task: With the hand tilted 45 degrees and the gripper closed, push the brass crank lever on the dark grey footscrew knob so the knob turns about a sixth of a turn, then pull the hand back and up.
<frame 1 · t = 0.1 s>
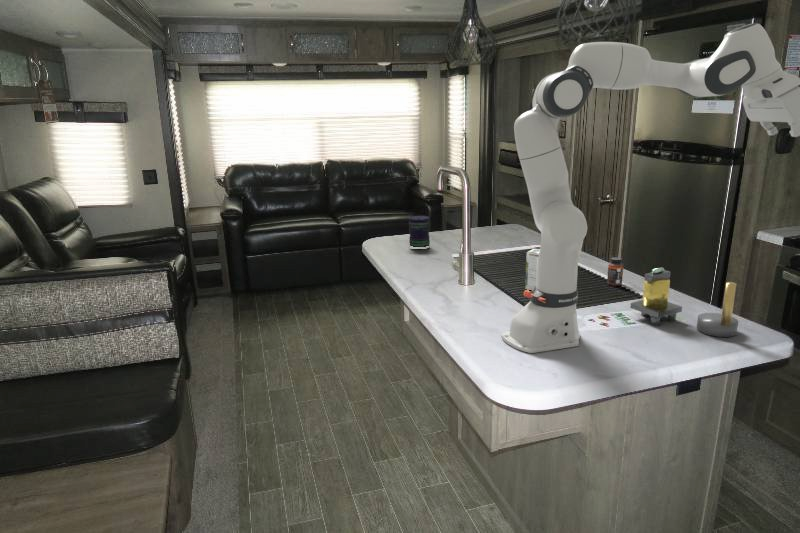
hand: (785, 135, 138), 54 cm above the worktop, tool tilted 30°, fingers open, 8 cm apart
storage jar: (419, 248, 262), on the worktop
footscrew knob: (719, 304, 153), point 8 cm above the worktop, hinge at 0.0°
syrup box: (535, 290, 196), on the worktop
supplement bottle: (614, 284, 199), on the worktop
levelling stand: (654, 319, 165), on the worktop
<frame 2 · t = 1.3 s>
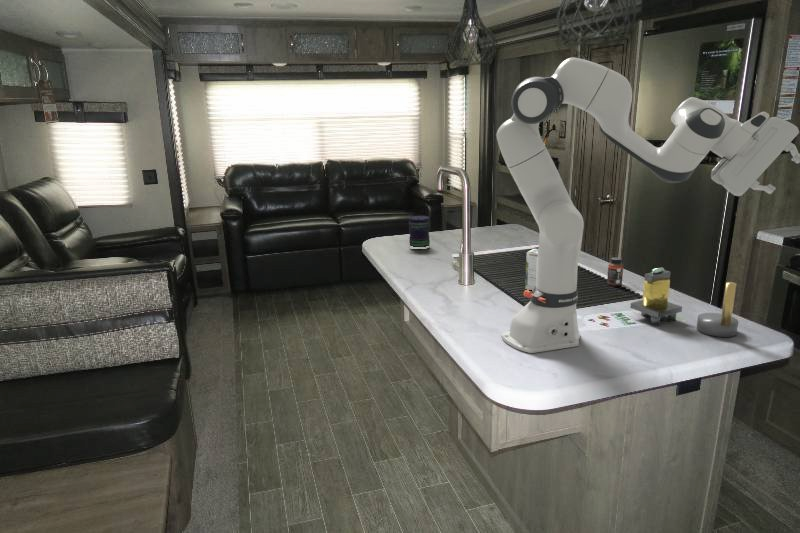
hand: (787, 176, 130), 45 cm above the worktop, tool tilted 55°, fingers open, 8 cm apart
nothing on the worktop moved.
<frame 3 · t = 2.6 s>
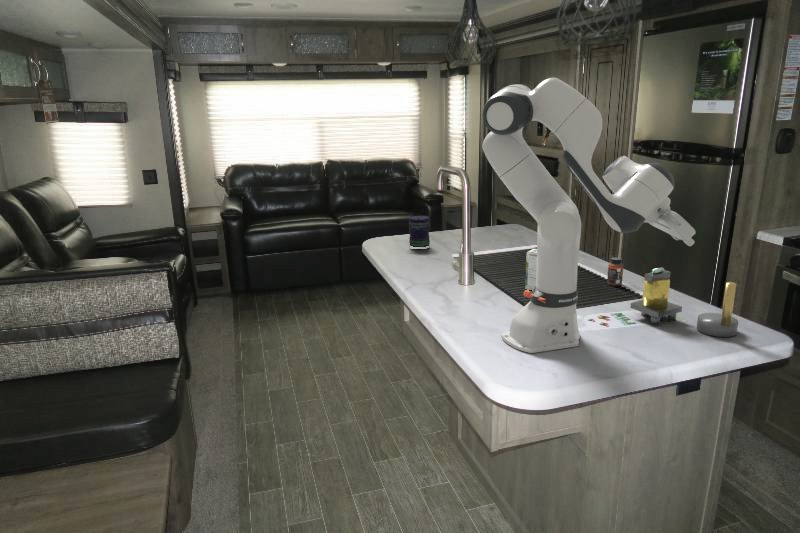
hand: (685, 241, 146), 27 cm above the worktop, tool tilted 45°, fingers open, 5 cm apart
nothing on the worktop moved.
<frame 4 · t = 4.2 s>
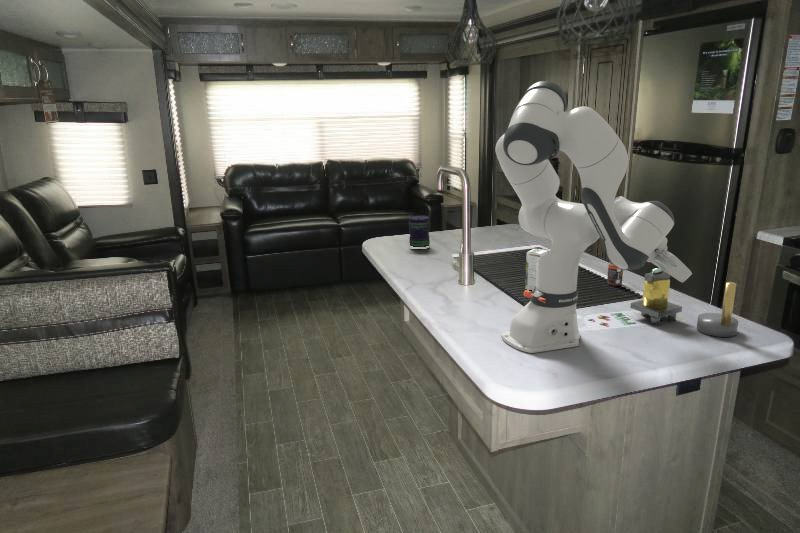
hand: (682, 279, 147), 17 cm above the worktop, tool tilted 45°, fingers closed
nothing on the worktop moved.
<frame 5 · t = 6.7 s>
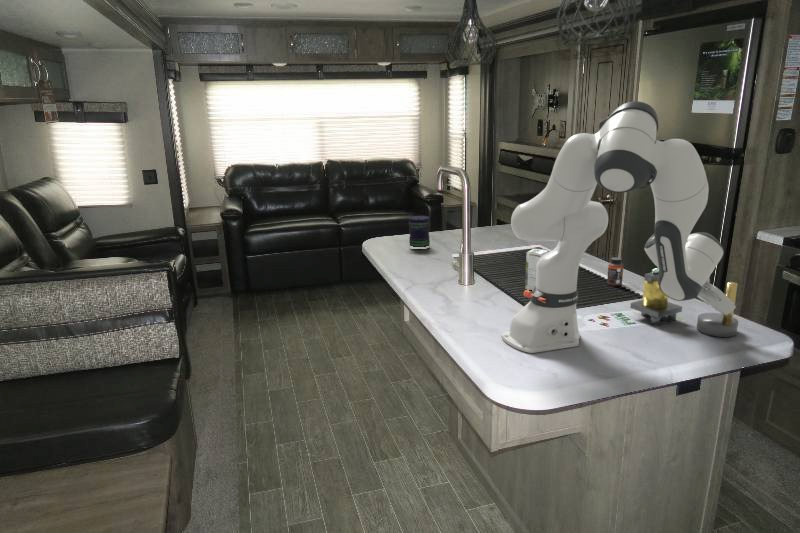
hand: (722, 310, 149), 8 cm above the worktop, tool tilted 45°, fingers closed, pressing on footscrew knob
footscrew knob: (719, 304, 153), point 8 cm above the worktop, hinge at 4.5°, touching gripper
everything else where it was.
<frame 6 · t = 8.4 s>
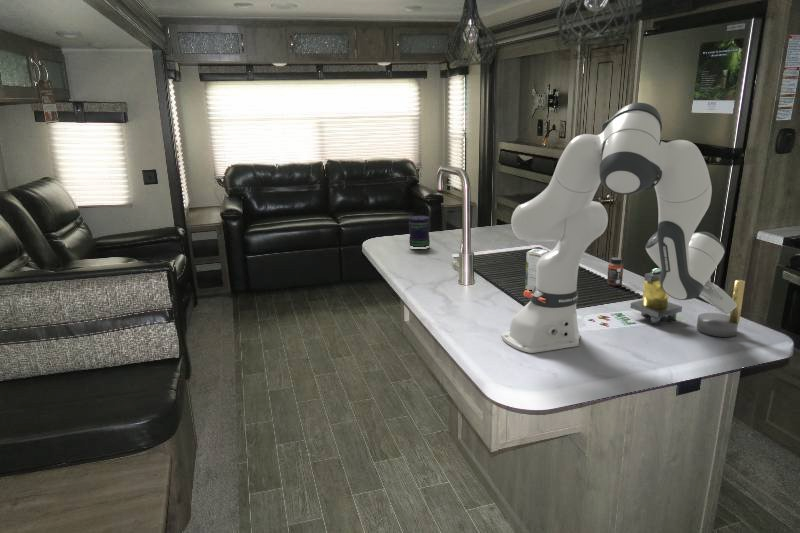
hand: (723, 308, 150), 8 cm above the worktop, tool tilted 45°, fingers closed
footscrew knob: (719, 304, 153), point 8 cm above the worktop, hinge at 54.7°
everything else where it was.
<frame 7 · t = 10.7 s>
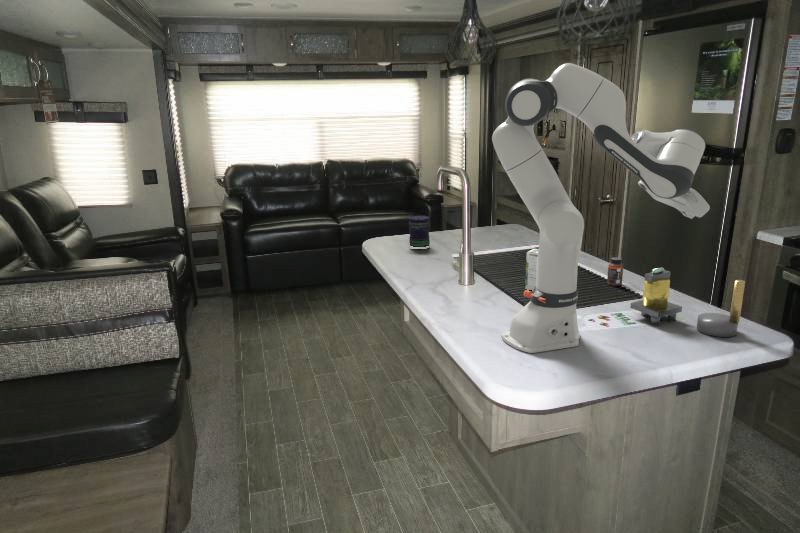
hand: (690, 215, 149), 33 cm above the worktop, tool tilted 45°, fingers closed
nothing on the worktop moved.
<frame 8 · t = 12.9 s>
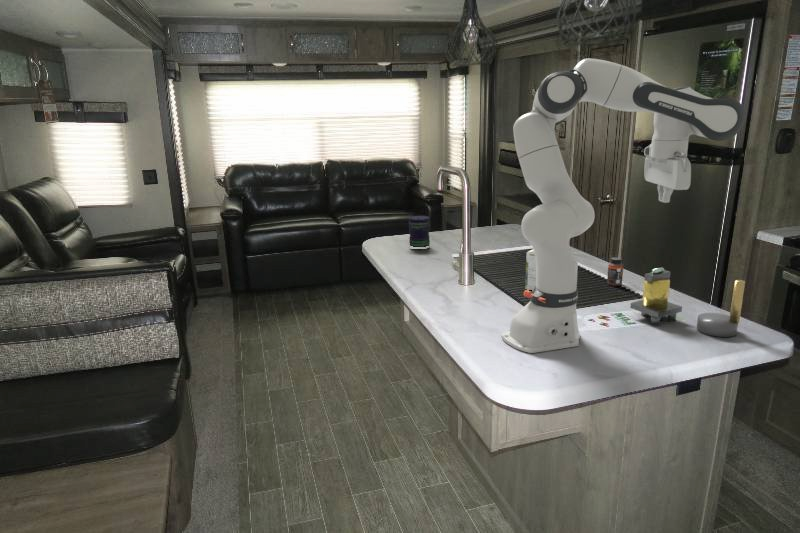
hand: (664, 201, 149), 37 cm above the worktop, tool pointing down, fingers closed
nothing on the worktop moved.
at the end: footscrew knob at +55° (first picture: +0°) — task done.
